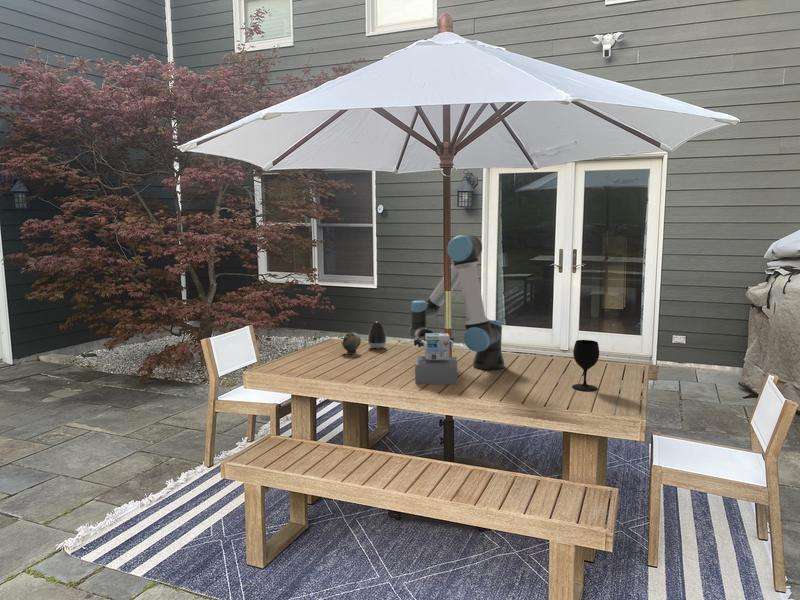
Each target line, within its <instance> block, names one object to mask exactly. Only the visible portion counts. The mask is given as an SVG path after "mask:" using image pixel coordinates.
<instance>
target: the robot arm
mask: <svg viewBox="0 0 800 600" xmlns="http://www.w3.org/2000/svg"><path fill="white" fill-rule="evenodd" d="M446 249H447V254H448V257H449V258H450V259H451V260H452V264H451V265H450V267H451V293H452V292H453V290H454V289H455V287H456V286H457V285H458V283H460V289H461V294H462V298H463V299H462V300H463V304H464V311H465V315H466V321H465V323H464V328H465V332H464V334H463V341H464V345H465V346H466V348H468V349H469V350H471V351H473V352H475V356H474V358H473V361H472V362H473V363H472V366H473V367H474V368H476V369H481V370H487V371H490V370H491V371H492V370H493V371H494V370H502V369H504V368H505V360H504V357H503V356H504V355H503V354H502V337H503V335H502V331H503V325H502V321H500V320H495V319H489V318H488V317H486V312H485V308H484V302H483V298H482V297H483V296H482V291H481V287H480V286H481V285H480V279H479V276H478V269H477V265H478V264H479V257H480V256H481V254H482V252H483V243H482V241H481V240H480V239H479V237H478V236H475V235H472V234H471V235H470V234H468V235H467V234H466V235H464V234H461V235H457V236H454V237H453V238H452V239H451V240H449V242H448V245H447V248H446ZM436 285H437V286H436V287H435V289H434V290H433V292H432V293H430V296H428V297H429V298H427V300H413V301H412V302H411V306H410V309H411V310H410V311H411V315H410V317H411V321H410V324H411V325H410V326H409V329H408V333H409V335H410V337H411V338H412V339H413V346H414V347H416V346H417V347H418V348H423V349H424V350H425V349H427V342H425V333H434V332H433V331H432V330H430V329H429V328H428V327H427V325H428V324H427V322H428V321H427V319H429V318H433V317H435V316H437V315H438V314H439V313H440V311H441V307H442V306H443V304H444V303H445V301H444V276H442V279H441V280H440V281H439V282H438V284H436ZM454 340H455V339H454V337H450V344H449V348H451V349H453V348H454Z"/></svg>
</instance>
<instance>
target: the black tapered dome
mask: <svg viewBox="0 0 800 600" xmlns="http://www.w3.org/2000/svg"><path fill="white" fill-rule="evenodd" d="M367 342H368V344H369V347H370V348H372V349H374V348H377V350H379V348H380V349H382V348H383V347H385V346H386V343H387V335H386V331H385V328H384V326H383V323H382V322H381V321H379V320H377V321H371V326H370V329H369V332H368V336H367Z"/></svg>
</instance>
